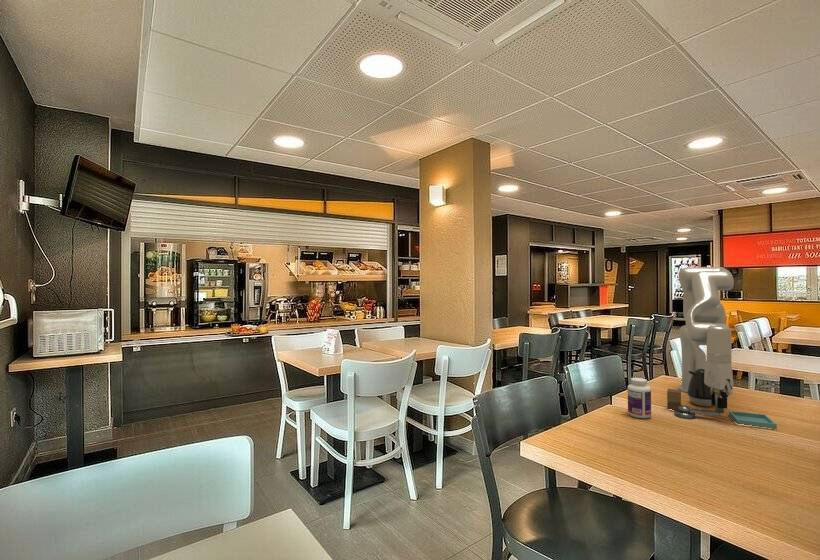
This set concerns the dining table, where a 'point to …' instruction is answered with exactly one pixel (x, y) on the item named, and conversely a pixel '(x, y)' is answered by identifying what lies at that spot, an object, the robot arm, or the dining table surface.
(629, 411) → the pill bottle
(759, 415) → the tray
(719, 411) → the crank
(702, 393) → the black tapered rounded piece
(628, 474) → the dining table surface
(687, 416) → the crank base
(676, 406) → the block
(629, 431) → the dining table surface
